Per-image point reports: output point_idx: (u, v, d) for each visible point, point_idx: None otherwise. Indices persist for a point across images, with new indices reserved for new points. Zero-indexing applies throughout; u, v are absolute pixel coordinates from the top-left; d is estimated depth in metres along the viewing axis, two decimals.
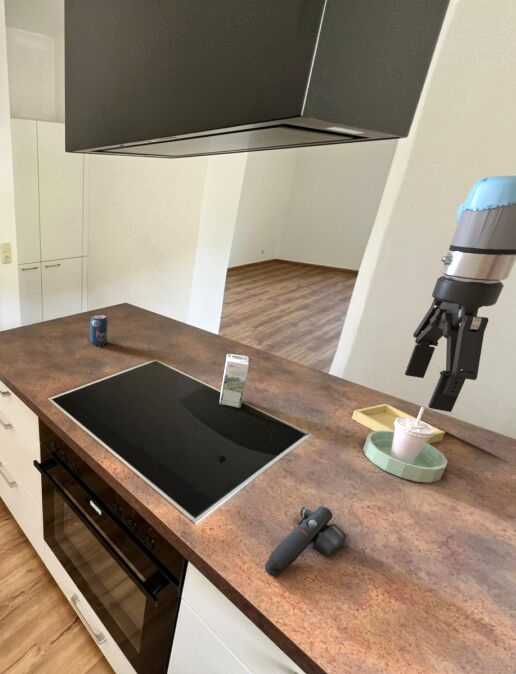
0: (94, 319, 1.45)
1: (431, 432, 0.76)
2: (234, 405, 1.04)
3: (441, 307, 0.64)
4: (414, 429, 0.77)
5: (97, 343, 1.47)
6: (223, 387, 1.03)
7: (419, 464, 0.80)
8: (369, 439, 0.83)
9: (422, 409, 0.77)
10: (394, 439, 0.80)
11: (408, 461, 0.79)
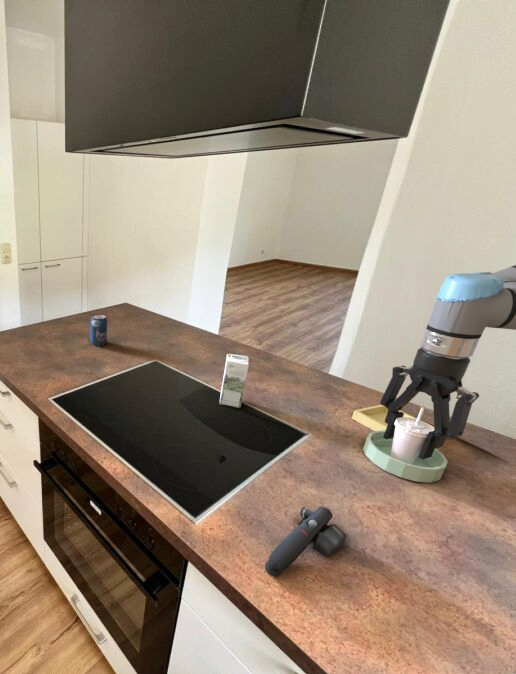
0: (94, 319, 1.45)
1: None
2: (234, 405, 1.04)
3: (413, 373, 0.76)
4: (414, 429, 0.77)
5: (97, 343, 1.47)
6: (223, 387, 1.03)
7: (419, 464, 0.80)
8: (369, 439, 0.83)
9: (422, 409, 0.77)
10: (394, 439, 0.80)
11: (408, 461, 0.79)
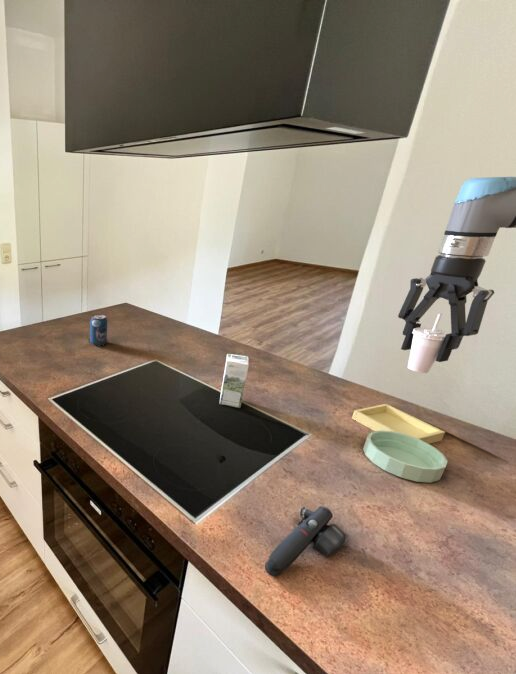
0: (94, 319, 1.45)
1: None
2: (234, 405, 1.04)
3: (431, 281, 0.81)
4: (431, 334, 0.81)
5: (97, 343, 1.47)
6: (223, 387, 1.03)
7: (419, 464, 0.80)
8: (369, 439, 0.83)
9: (439, 315, 0.81)
10: (412, 348, 0.85)
11: (425, 367, 0.84)
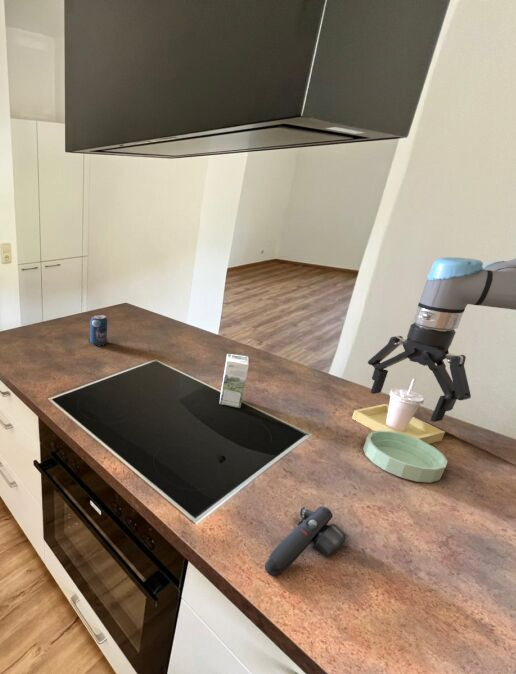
0: (94, 319, 1.45)
1: (421, 400, 0.87)
2: (234, 405, 1.04)
3: (406, 345, 0.88)
4: (406, 398, 0.88)
5: (97, 343, 1.47)
6: (223, 387, 1.03)
7: (419, 464, 0.80)
8: (369, 439, 0.83)
9: (413, 380, 0.88)
10: (389, 407, 0.92)
11: (401, 426, 0.91)
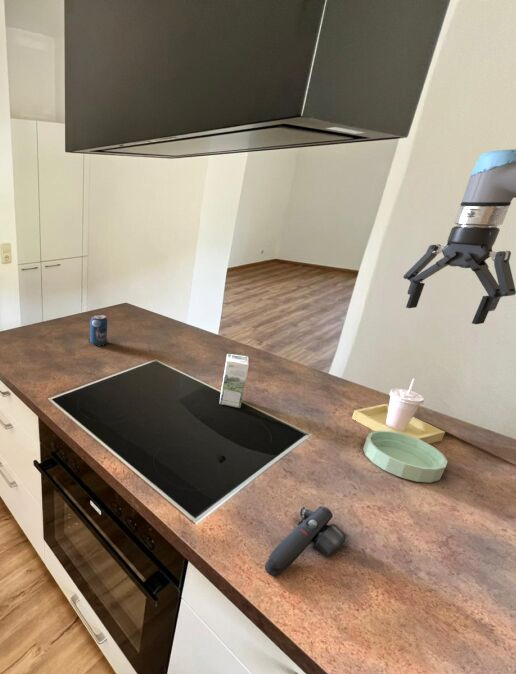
0: (94, 319, 1.45)
1: (421, 400, 0.87)
2: (234, 405, 1.04)
3: (446, 251, 0.86)
4: (406, 398, 0.88)
5: (97, 343, 1.47)
6: (223, 387, 1.03)
7: (419, 464, 0.80)
8: (369, 439, 0.83)
9: (413, 380, 0.88)
10: (389, 407, 0.92)
11: (401, 426, 0.91)
